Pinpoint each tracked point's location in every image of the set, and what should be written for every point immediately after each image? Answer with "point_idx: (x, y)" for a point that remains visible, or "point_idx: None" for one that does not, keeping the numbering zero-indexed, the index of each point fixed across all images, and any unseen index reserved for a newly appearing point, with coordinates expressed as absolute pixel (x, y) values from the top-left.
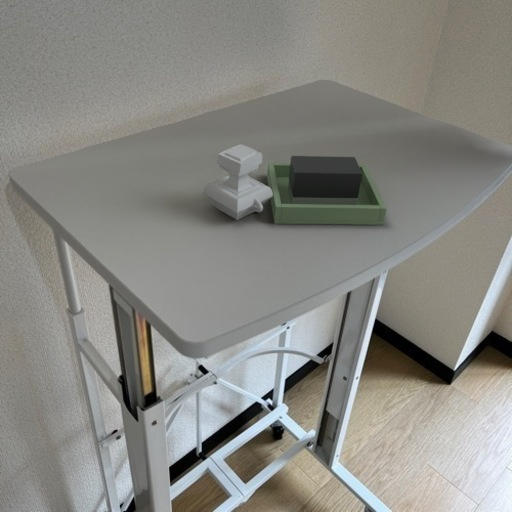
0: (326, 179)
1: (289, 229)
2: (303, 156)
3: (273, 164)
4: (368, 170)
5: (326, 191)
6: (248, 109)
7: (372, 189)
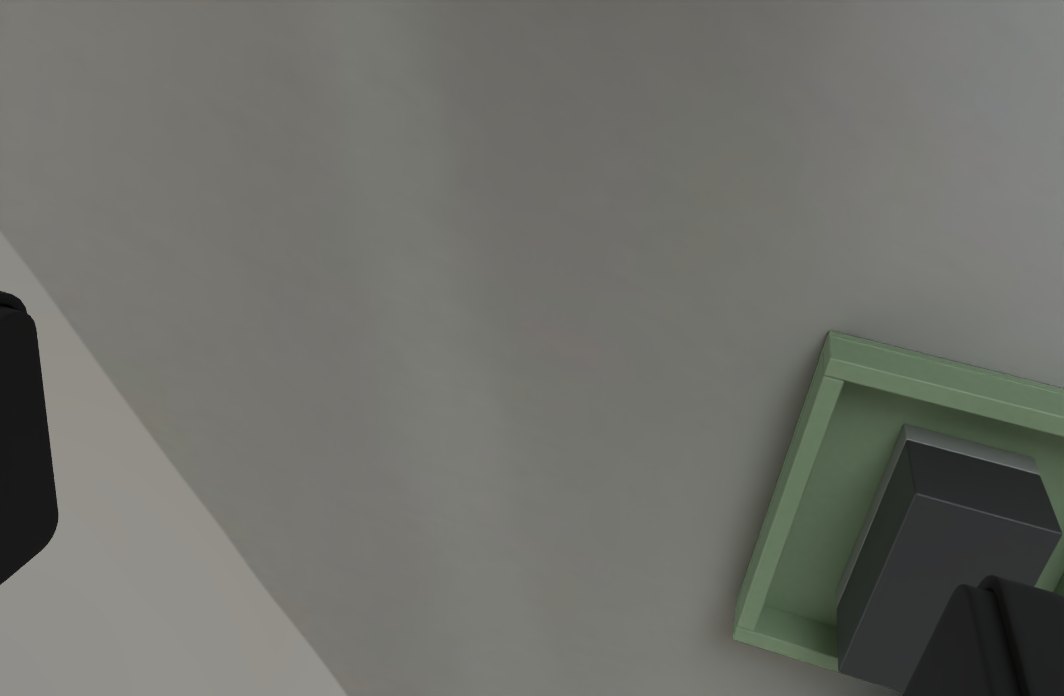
0: None
1: None
2: (855, 643)
3: (750, 631)
4: (883, 371)
5: None
6: (220, 466)
7: (1034, 428)
